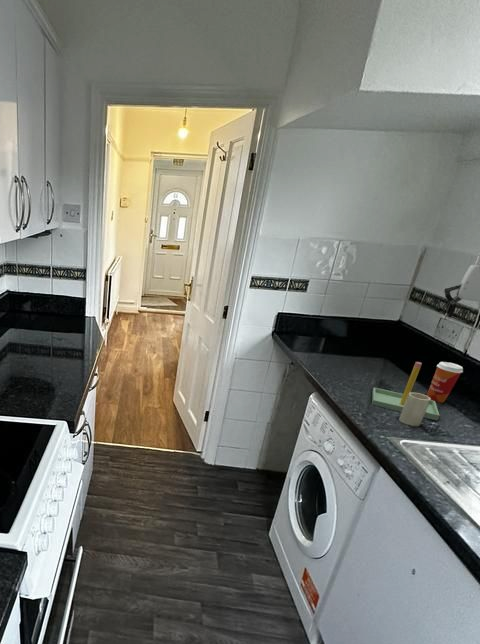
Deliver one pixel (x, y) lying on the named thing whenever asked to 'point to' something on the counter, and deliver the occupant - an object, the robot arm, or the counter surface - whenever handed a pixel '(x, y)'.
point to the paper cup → (444, 381)
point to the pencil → (411, 382)
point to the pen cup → (414, 409)
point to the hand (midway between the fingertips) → (468, 319)
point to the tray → (394, 399)
